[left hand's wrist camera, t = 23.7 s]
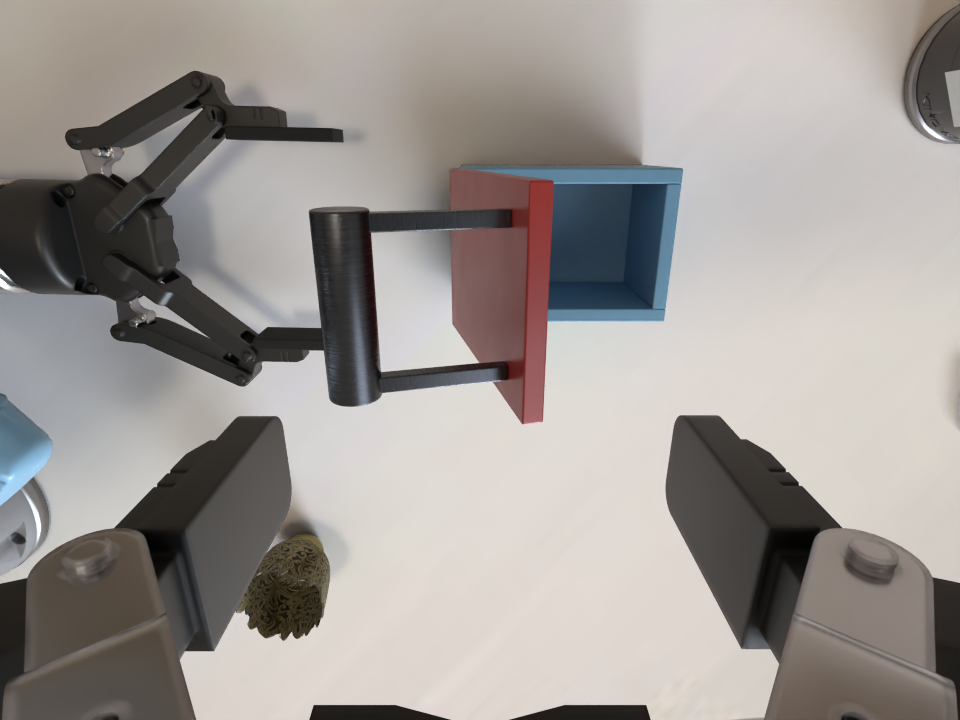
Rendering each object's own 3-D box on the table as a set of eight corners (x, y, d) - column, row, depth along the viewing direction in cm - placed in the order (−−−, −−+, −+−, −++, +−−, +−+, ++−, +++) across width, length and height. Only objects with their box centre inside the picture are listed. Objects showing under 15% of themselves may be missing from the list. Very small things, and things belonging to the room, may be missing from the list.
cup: (357, 562, 54) (337, 628, 47) (292, 583, 55) (262, 651, 48) (323, 504, 52) (296, 563, 44) (255, 527, 53) (218, 589, 45)
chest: (643, 164, 41) (683, 168, 33) (630, 290, 44) (664, 322, 36) (461, 164, 41) (457, 168, 33) (463, 290, 44) (459, 321, 36)
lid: (554, 180, 19) (301, 183, 17) (543, 422, 23) (331, 448, 21) (464, 168, 32) (315, 169, 30) (466, 323, 36) (331, 333, 34)
